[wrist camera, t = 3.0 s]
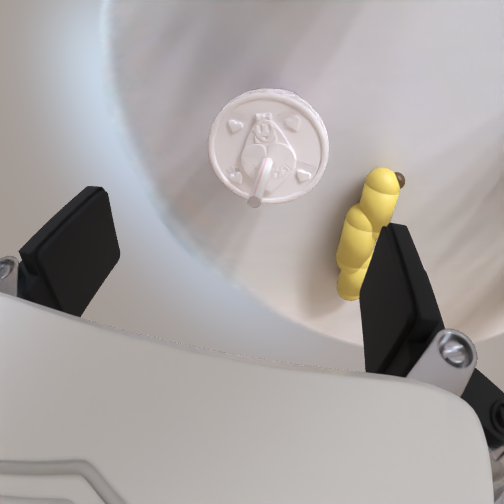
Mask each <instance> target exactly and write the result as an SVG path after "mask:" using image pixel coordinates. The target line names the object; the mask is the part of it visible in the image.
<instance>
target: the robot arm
mask: <svg viewBox="0 0 504 504" xmlns="http://www.w3.org/2000/svg"><path fill="white" fill-rule="evenodd" d="M19 253H20V256H21V258H22V261H21V262H20V263H19V262H18V260H17V258H16V257H13V256H6V257H2V258H0V504H504V393H503V392H502V391H501V390H500V389H499V388H498V387H497V386H496V385H494V384H493V383H492V382H491V381H490V380H489V379H488V378H487V377H485V376H484V375H483V374H482V373H481V372H480V371H479V370H477V369H476V368H475V366H476V363H477V359H478V357H477V352H476V349H475V346H474V344H473V343H472V341H471V340H470V339H469V338H468V337H467V336H466V335H465V334H463V333H461V332H460V331H457V330H454V329H445V327H444V324H443V320H442V317H441V314H440V311H439V308H438V305H437V302H436V299H435V296H434V293H433V290H432V287H431V284H430V281H429V278H428V276H427V273H426V271H425V270H424V268H423V266H422V263H421V260H420V258H419V255H418V253H417V250H416V248H415V245H414V243H413V240H412V238H411V235H410V233H409V231H408V228H407V226H405V225H400V224H395V223H389V224H388V225H387V227H386V226H383V227H382V228H381V231H380V234H379V237H378V240H377V243H376V246H375V249H374V252H373V255H372V258H371V260H370V263H369V266H368V269H367V272H366V274H365V277H364V280H363V283H362V285H361V288H360V293H359V301H360V310H361V320H362V330H363V342H364V355H365V369H366V372H358V371H349V370H340V369H331V368H323V367H315V366H308V365H300V364H293V363H286V362H279V361H272V360H265V359H259V358H253V357H247V356H241V355H236V354H230V353H225V352H220V351H215V350H209V349H204V348H200V347H195V346H189V345H185V344H181V343H176V342H171V341H167V340H163V339H159V338H155V337H150V336H146V335H142V334H138V333H134V332H130V331H126V330H123V329H119V328H115V327H112V326H108V325H105V324H101V323H97V322H94V321H90V320H87V319H84V318H80V317H81V315H82V314H83V312H84V311H85V309H86V307H87V306H88V304H89V303H90V301H91V299H92V298H93V297H94V295H95V294H96V292H97V291H98V289H99V288H100V286H101V285H102V283H103V282H104V280H105V279H106V278H107V276H108V275H109V273H110V272H111V270H112V269H113V268H114V266H115V265H116V263H117V262H118V260H119V258H120V249H119V245H118V240H117V236H116V232H115V227H114V222H113V218H112V212H111V207H110V202H109V197H108V193H107V192H106V191H105V190H104V189H103V188H102V187H95V186H88V187H86V188H85V189H84V190H82V191H81V192H80V193H79V194H78V195H77V196H76V197H74V198H73V199H72V200H71V201H70V202H69V203H68V204H67V205H65V206H64V207H63V208H62V209H61V210H60V211H59V212H58V213H57V214H55V215H54V216H53V217H52V218H51V219H50V220H49V221H48V222H47V223H46V224H45V225H44V226H43V227H42V228H41V229H40V230H39V231H38V232H37V233H36V234H35V235H34V236H33V237H32V238H31V239H30V240H29V241H28V242H27V243H26V244H25V245H24V246H23V247H22V248H21V249H20V250H19Z"/></svg>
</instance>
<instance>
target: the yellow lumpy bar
mask: <svg viewBox="0 0 504 504" xmlns="http://www.w3.org/2000/svg"><path fill="white" fill-rule="evenodd" d="M404 184H405V178H404V176H403V175H402V174H401V173H398V172H395V173H394V172H393V171H391V170H390V169H387V168H376V169H374V170H372V171H371V172H370V173H369V174H368V175H367V177H366V180H365V183H364V187H363V191H362V195H361V199H360V203H358V204H355V205H353V206H352V207H351V208H350V209H349V210H348V212H347V214H346V217H345V221H344V225H343V229H342V233H341V237H340V241H339V245H338V248H337V252H336V262H337V265H338V267H339V268H340V269H341V271H340V274H339V277H338V281H337V291H338V294H339V295H340V296H341V297H342V298H343V299H345V300H348V301H354V300H357V299H359V293H360V288H361V285H362V283H363V280H364V277H365V274H366V272H367V269H368V266H369V263H370V260H371V258H372V255H373V252H374V249H373V248H374V245H375V242H376V240H377V239H378V237H379V234H380V231H381V228H382V227H383V226H386V227H387V225H388V224H389V223H390V221H391V218H392V214H393V211H394V208H395V205H396V202H397V198H398V195H399V192H400V189H401V188H402V187H403V186H404Z"/></svg>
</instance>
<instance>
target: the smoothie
mask: <svg viewBox="0 0 504 504" xmlns="http://www.w3.org/2000/svg"><path fill="white" fill-rule="evenodd" d="M328 150H329V142H328V136H327V130H326V128H325V126H324V124H323V122H322V120H321V118H320V116H319V115H318V113H317V112H316V111H315V110H314V109H313V108H312V107H311V106H310V104H309V103H307V102H306V101H304V100H302V99H301V98H300V97H299V96H298V95H297V94H295V93H294V92H292V91H289V90H285V89H263V88H262V89H257V90H252V91H248V92H245V93H243V94H241V95H239V96H237V97H235V98H234V99H232V100H231V101H230V102H229V103H228V104H227V105H226V106H225V107H224V108H222V109H221V111H220V113H219V114H218V115H217V117H216V118H215V120H214V122H213V124H212V126H211V129H210V132H209V137H208V155H209V159H210V162H211V165H212V167H213V170H214V171H215V173H216V175H217V176H218V178H219V179H220V180H221V181H222V183H223V184H224V185H225V186H226V187H227V188H229V189H230V190H231V191H232V192H234V193H235V194H237V195H239V196H240V197H243V198H245V199H247V202H248V205H249V206H250V207H252V208H257V207H259V206H260V205H261V203H262V204H280V203H285V202H289V201H292V200H295V199H297V198H299V197H301V196H303V195H305V194H306V193H307V192H309V191H310V190H311V189H312V188H313V187H314V186H315V185H316V184H317V183H318V181H319V180H320V178H321V177H322V175H323V173H324V171H325V168H326V165H327V161H328Z"/></svg>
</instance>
